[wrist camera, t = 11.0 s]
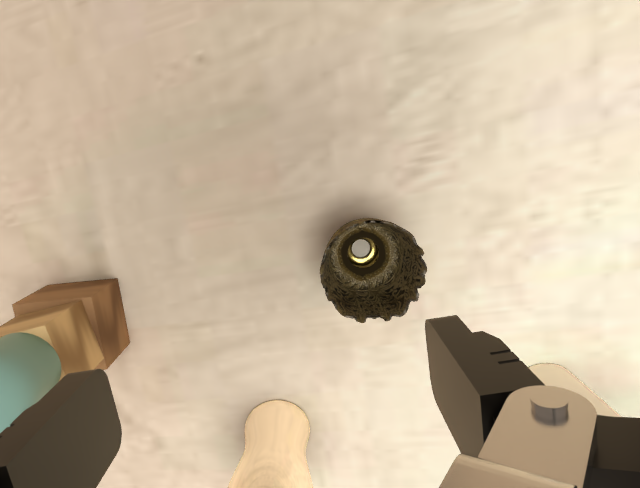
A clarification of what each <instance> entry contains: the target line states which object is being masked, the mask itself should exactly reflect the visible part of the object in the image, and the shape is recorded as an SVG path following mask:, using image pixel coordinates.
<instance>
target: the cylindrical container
mask: <svg viewBox="0 0 640 488" xmlns="http://www.w3.org/2000/svg"><path fill="white" fill-rule="evenodd" d="M528 368H529V369H530V370H531V371H532V372H533V373H534V374H535V375H536V376H537V377H538V378H539V379H540V380H541V381H542V382H543V383H544V384H545V385H546V386H554V387H560V388H564V389H567V390H571V391H573V392H575V393H578V394H580V395H581V396H583V397H585V398H586V399H587V400H589V401H590V402H591V403H592V404H593V406H594V407H595V409H596V412H597V415H603V416H611V417H621V416H620V415H619V414H618V413H617V412H616V411H614V410H613V409H612V408H611V407H610V406H609V405H608V404H606V403H605V402H604V401H603V400H602V399H601V398H599V397H598V396H597V395H596V394H595V393H594V392H593V391H591V390H590V389H589V388H588V387H587V386H586V385H585V384H583V383H582V382H581V381H580V380H579V379H578V378H576V377H575V376H574V375H573V374H572V373H571V372H569V371H568V370H567V369H566V368H564V367H562V366H560V365H556V364H550V363H543V364H537V365H533V366H530V367H528Z"/></svg>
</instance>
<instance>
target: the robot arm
mask: <svg viewBox="0 0 640 488" xmlns="http://www.w3.org/2000/svg"><path fill="white" fill-rule="evenodd" d="M425 332H426V342H427V351H428V360H429V370H430V379H431V385H432V390H433V394H434V397H435V400H436V403H437V405H438V407H439V409H440V411H441V413H442V415H443V417H444V419H445V422H446V424H447V426H448V428H449V430H450V432H451V434H452V436H453V438H454V440H455V442H456V444H457V446H458V448H459V450H460V452H461V454H459V455H458V456H457V457H456V459H455V460H454V462H453V463H452V465H451V467H450V469H449V471H448V472H447V474H446V476H445V478H444V480H443V481H442V483H441V485H440V487H439V488H640V418H628V417H611V416H603V415H597V412H596V409H595V407H594V406H593V404H592V403H591V402H590V401H589V400H587V399H586V398H585V397H583V396H581V395H580V394H578V393H575V392H573V391H571V390H567V389H564V388H560V387H554V386H546V385H545V384H544V383H543V382H542V381H541V380H540V379H539V378H538V377H537V376H536V375H535V374H534V373H533V372H532V371H531V370H530V369H529V368H528V367H527V366H526V365H525V364H524V363H523V362H522V361H520V360H519V358H518V357H517V356H516V355H515V354H514V353H513V352H511V351H510V349H509V348H508V347H507V346H506V345H505V344H504V343H503V342H502V341H501V340H500V339H499V338H497V337H494V336H492V335H490V334H488V333H485V332H483V331H480V332H474V333H472V332H471V331H470V330H469V329H468V328H467V326H466V325H465V324H464V323H463V322H462V321H461V320H460V318H459V317H458V316H457V315H454V316H447V317H441V318H434V319H427V320H426V322H425ZM121 437H122V431H121V424H120V420H119V417H118V413H117V409H116V406H115V402H114V398H113V395H112V391H111V387H110V384H109V380H108V377H107V375H106V373H105V372H104V371H103V370H102V369H94V370H87V371H80V372H74V373H68V374H67V375H65V376H64V377H63V378H62V379H61V380H60V381H59V382H58V383H57V384H56V385H55V386H54V387H53V388H52V389H51V390H50V391H49V392H48V393H47V394H46V395H45V396H44V397H42V398H41V399H40V400H39V401H38V402H37V403H35V404H34V405H32V406H31V407H29V408H27V409H26V410H24V411H23V412H22V413H21V414H20V415H19V416H18V417H17V418H16V419H15V420H14V421H13V422H12V423H11V424H10V427H7V428H6V429H4V430H3V431H2V432H1V433H0V488H96V487H97V485H98V484H99V482H100V481H101V479H102V477H103V476H104V474H105V472H106V471H107V469H108V467H109V466H110V464H111V462H112V461H113V459H114V458H115V456H116V454H117V453H118V451H119V448H120V444H121Z"/></svg>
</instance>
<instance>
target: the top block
mask: <svg viewBox="0 0 640 488" xmlns="http://www.w3.org/2000/svg"><path fill="white" fill-rule="evenodd" d="M18 332H21V333H29V334H33V335H36V336H38V337H40V338H42V339H44V340H45V341H46V342H48V343H49V344H50V345H51V346H52V347H53V348H54V350H55V351H56V353H57V354H58V356H59V359H60V362H61V376H60V380H61V379H62V378H63V377H64V376H65V375H67V374H68V373H74V372H80V371H87V370H94V369H95V368H96V367H97V365H98V364H99V363H100V362H101V361H102V360H103V359H104V357H103V354H102V352H101V349H100V346H99V344H98V341H97V339H96V336H95V334H94V331H93V328H92V326H91V323H90V321H89V318H88V315H87V313H86V310H85V308H84V305H83V303H82V300H78V301H74V302H70V303H66V304H62V305H58V306H54V307H50V308H46V309H42V310H38V311H34V312H30V313H26V314H22V315H18V316H17V317H15V318H13V319H12V320H10V321H8V322H7V323H5V324H3V325H2V326H0V338H1V337H3V336H5V335H7V334H11V333H18ZM60 380H59V381H60Z"/></svg>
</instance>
